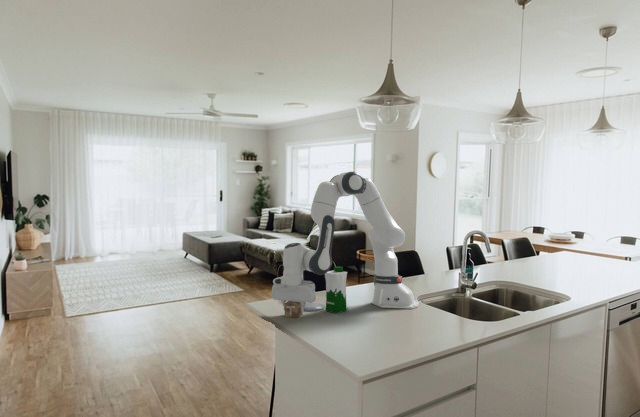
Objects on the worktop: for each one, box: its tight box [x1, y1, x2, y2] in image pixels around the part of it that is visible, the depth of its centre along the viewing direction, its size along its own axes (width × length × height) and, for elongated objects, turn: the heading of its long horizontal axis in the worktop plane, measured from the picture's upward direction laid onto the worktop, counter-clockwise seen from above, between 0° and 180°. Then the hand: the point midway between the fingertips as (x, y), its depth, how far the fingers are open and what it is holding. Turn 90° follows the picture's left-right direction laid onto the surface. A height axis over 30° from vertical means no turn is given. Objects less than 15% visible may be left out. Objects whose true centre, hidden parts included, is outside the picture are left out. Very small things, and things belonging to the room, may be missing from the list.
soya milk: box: [324, 265, 348, 314], centre depth 193 cm, size 9×9×20 cm
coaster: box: [303, 302, 326, 312], centre depth 199 cm, size 13×13×1 cm
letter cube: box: [283, 301, 304, 319], centre depth 186 cm, size 6×6×6 cm
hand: (293, 310), depth 186 cm, fingers closed on letter cube, 6 cm apart
